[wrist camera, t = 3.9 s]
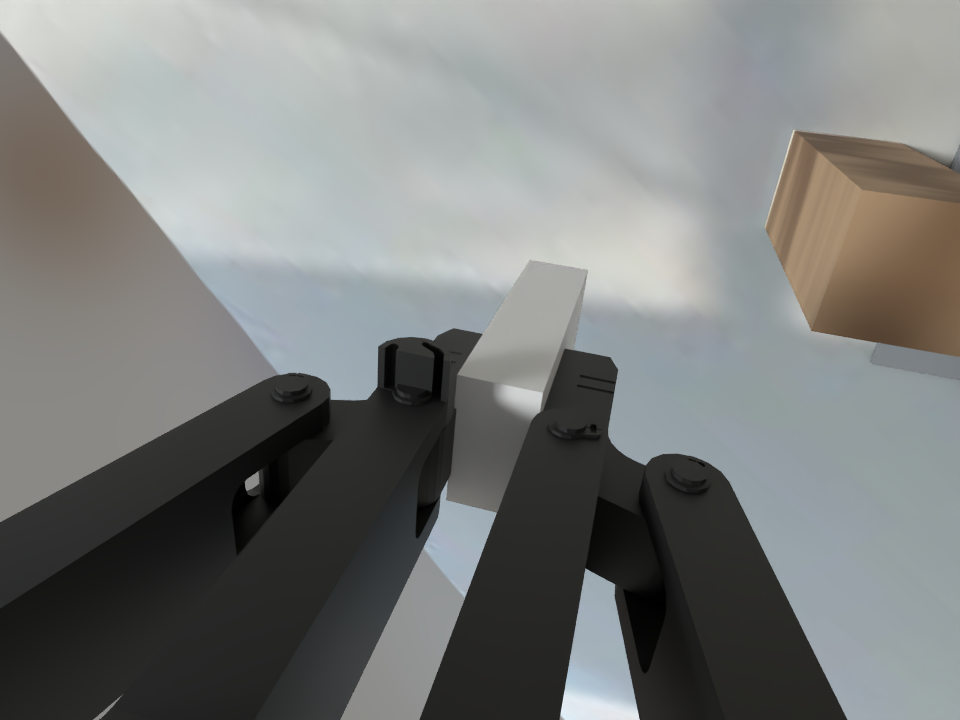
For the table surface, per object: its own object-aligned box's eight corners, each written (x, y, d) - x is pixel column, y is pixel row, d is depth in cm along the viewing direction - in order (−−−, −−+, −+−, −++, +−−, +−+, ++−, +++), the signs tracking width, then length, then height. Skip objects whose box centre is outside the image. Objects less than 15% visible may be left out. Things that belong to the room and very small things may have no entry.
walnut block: (764, 226, 36) (811, 330, 24) (793, 129, 33) (862, 189, 21) (864, 241, 35) (966, 358, 23) (901, 143, 32) (1037, 214, 20)
